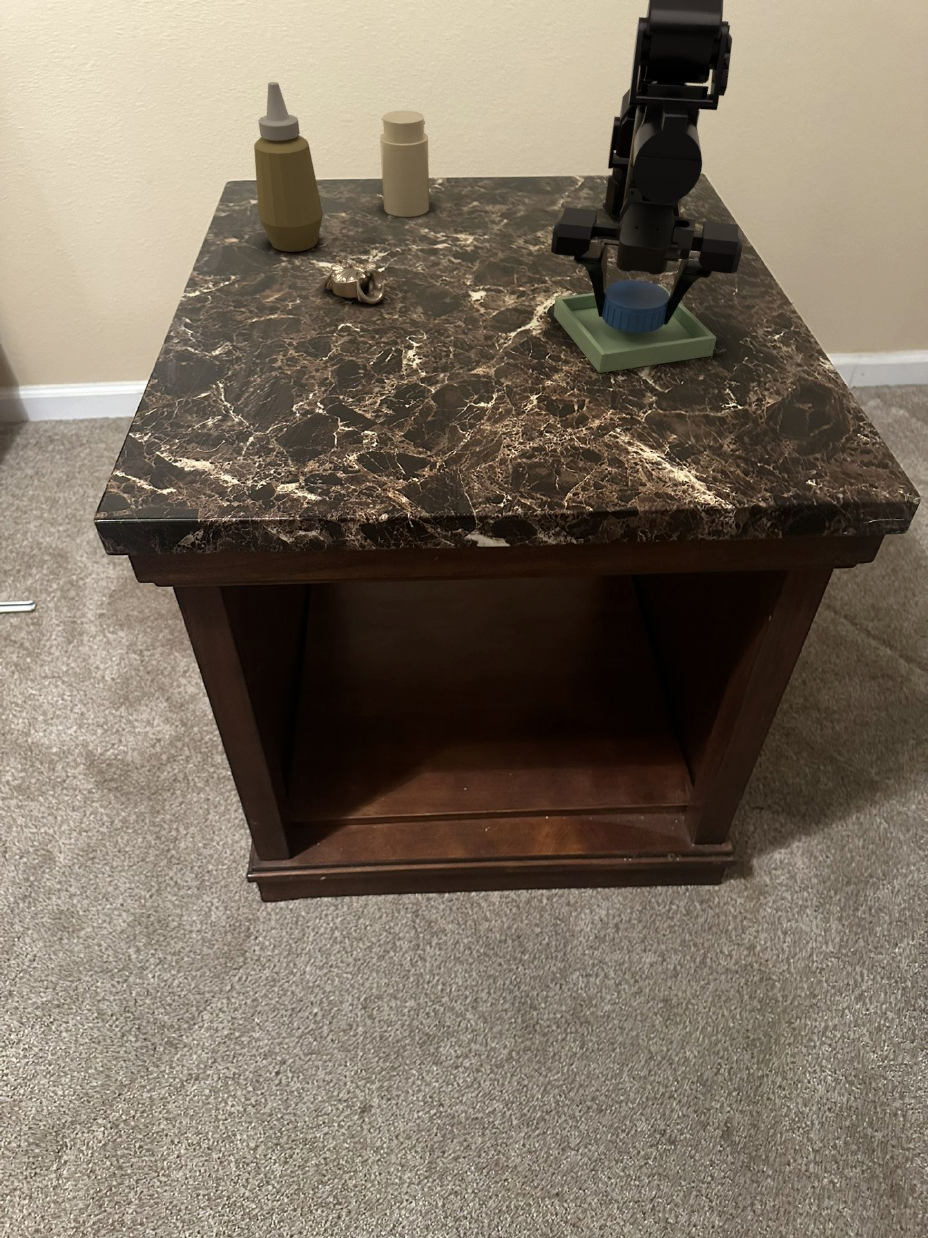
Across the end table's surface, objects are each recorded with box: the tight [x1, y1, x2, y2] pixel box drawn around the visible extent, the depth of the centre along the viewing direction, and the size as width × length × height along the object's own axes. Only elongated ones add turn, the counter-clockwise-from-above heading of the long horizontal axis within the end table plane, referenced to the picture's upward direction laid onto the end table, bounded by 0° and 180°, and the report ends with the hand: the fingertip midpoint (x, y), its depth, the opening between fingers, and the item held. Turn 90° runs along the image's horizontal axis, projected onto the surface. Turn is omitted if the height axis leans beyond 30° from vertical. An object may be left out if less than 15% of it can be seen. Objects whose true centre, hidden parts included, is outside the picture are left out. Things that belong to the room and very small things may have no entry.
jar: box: [379, 110, 430, 218], centre depth 112 cm, size 6×6×11 cm
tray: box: [553, 283, 717, 374], centre depth 91 cm, size 13×13×2 cm
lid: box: [602, 279, 669, 333], centre depth 89 cm, size 7×7×3 cm
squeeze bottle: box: [253, 81, 324, 253], centre depth 101 cm, size 8×8×18 cm
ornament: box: [322, 256, 386, 305], centre depth 96 cm, size 8×7×4 cm
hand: (632, 319), depth 90 cm, fingers closed on lid, 7 cm apart
